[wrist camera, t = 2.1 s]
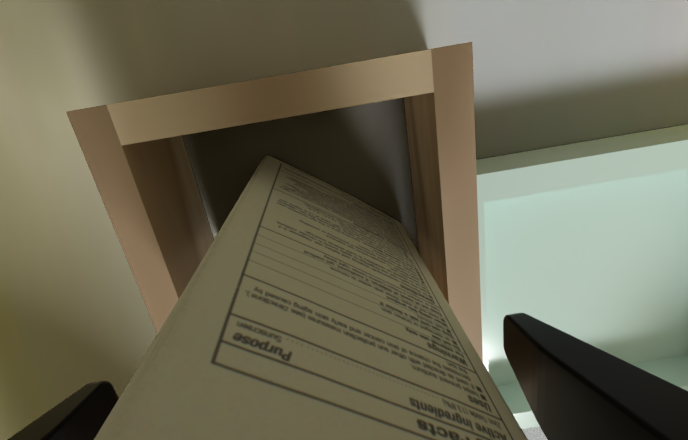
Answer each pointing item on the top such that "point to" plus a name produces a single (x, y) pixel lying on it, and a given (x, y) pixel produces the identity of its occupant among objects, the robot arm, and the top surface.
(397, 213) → the top surface
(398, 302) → the skincare box
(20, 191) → the top surface
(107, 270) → the top surface
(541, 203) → the tray
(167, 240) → the frame
